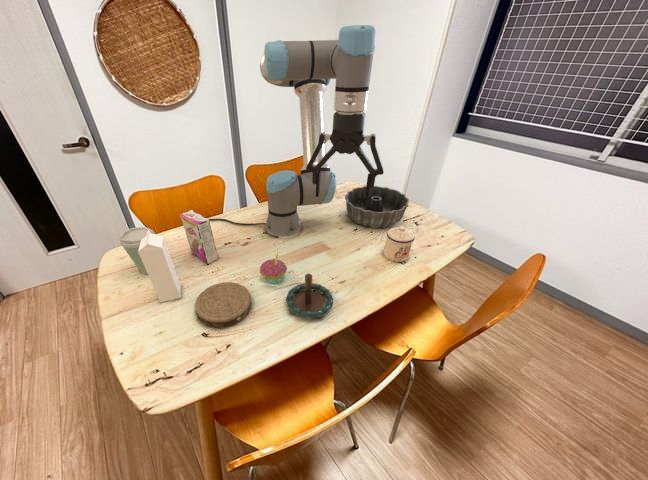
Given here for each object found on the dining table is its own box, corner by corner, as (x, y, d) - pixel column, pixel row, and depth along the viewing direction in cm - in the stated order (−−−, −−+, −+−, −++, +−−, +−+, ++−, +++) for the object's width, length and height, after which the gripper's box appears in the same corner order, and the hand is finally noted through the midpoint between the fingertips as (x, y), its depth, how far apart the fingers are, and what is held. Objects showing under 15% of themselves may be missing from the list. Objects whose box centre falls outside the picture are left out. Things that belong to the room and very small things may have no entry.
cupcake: (291, 275, 93) (290, 245, 86) (279, 291, 87) (277, 260, 80) (268, 269, 96) (266, 240, 89) (256, 284, 90) (252, 254, 83)
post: (289, 313, 80) (288, 284, 73) (296, 292, 87) (295, 264, 80) (320, 318, 78) (322, 289, 71) (324, 296, 85) (327, 267, 78)
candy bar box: (190, 253, 105) (178, 214, 95) (202, 247, 107) (191, 209, 97) (207, 265, 99) (196, 224, 88) (219, 259, 101) (210, 219, 91)
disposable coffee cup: (159, 256, 103) (145, 220, 94) (172, 269, 97) (159, 232, 88) (129, 269, 97) (112, 232, 88) (141, 283, 91) (124, 245, 82)
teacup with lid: (394, 265, 96) (402, 237, 89) (377, 252, 103) (382, 224, 96) (419, 256, 101) (428, 228, 93) (401, 244, 107) (408, 216, 100)
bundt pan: (373, 241, 109) (378, 218, 103) (330, 215, 126) (332, 194, 120) (416, 222, 120) (423, 200, 114) (372, 201, 138) (375, 181, 132)
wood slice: (186, 309, 82) (183, 302, 80) (229, 282, 91) (227, 275, 89) (218, 338, 73) (216, 331, 71) (262, 305, 82) (261, 298, 81)
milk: (160, 302, 84) (132, 241, 71) (161, 289, 89) (135, 230, 75) (181, 298, 85) (157, 237, 72) (181, 285, 90) (159, 226, 76)
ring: (280, 313, 78) (280, 309, 77) (293, 283, 88) (293, 278, 87) (328, 323, 75) (328, 318, 74) (335, 290, 85) (336, 286, 84)
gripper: (294, 113, 65) (295, 198, 78) (406, 115, 60) (387, 205, 73) (300, 108, 71) (300, 188, 84) (403, 110, 66) (386, 194, 79)
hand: (341, 196), depth 79 cm, fingers open, 13 cm apart
